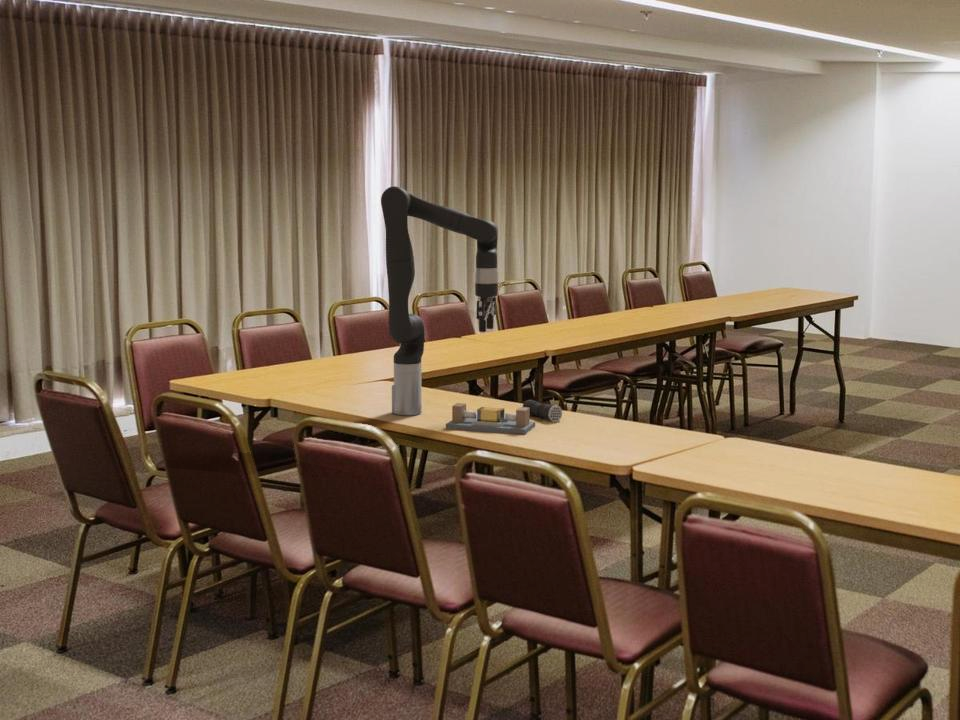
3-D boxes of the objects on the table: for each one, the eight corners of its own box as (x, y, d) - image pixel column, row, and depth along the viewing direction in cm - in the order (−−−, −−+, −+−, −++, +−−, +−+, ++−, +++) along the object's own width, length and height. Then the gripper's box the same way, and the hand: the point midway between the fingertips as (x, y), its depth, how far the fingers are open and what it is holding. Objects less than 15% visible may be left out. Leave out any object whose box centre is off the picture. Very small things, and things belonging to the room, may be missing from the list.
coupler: (504, 422, 367) (504, 408, 366) (500, 425, 363) (500, 411, 362) (481, 420, 369) (481, 406, 368) (477, 423, 365) (477, 409, 364)
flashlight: (520, 415, 386) (520, 399, 386) (533, 413, 390) (533, 397, 389) (549, 422, 374) (549, 406, 373) (562, 421, 377) (562, 404, 376)
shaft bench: (445, 428, 364) (445, 407, 363) (457, 421, 375) (457, 400, 374) (525, 434, 356) (525, 412, 355) (535, 426, 368) (535, 405, 367)
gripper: (491, 283, 373) (490, 333, 376) (503, 280, 387) (503, 328, 389) (469, 283, 376) (469, 332, 378) (482, 279, 389) (481, 327, 392)
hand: (486, 330), depth 384 cm, fingers open, 8 cm apart
